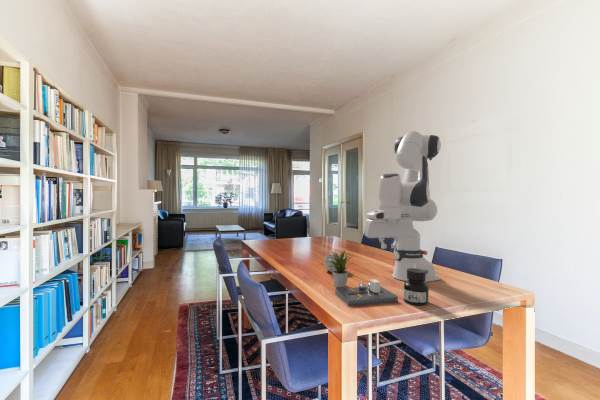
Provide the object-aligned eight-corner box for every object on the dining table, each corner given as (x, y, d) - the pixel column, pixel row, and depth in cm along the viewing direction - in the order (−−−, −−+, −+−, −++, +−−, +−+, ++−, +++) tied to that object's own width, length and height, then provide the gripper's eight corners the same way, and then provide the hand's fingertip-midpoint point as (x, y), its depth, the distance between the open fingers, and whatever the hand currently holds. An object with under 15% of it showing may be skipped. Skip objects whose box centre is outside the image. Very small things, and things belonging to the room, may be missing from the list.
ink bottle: (398, 301, 114) (399, 270, 114) (407, 295, 121) (407, 266, 121) (425, 308, 108) (425, 275, 108) (432, 301, 115) (433, 270, 115)
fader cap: (375, 289, 121) (375, 279, 121) (380, 292, 118) (380, 282, 117) (369, 289, 121) (369, 279, 121) (374, 292, 117) (374, 282, 117)
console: (379, 290, 127) (379, 281, 127) (397, 302, 114) (398, 292, 114) (335, 293, 123) (335, 284, 123) (348, 306, 109) (348, 295, 109)
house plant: (327, 279, 144) (328, 245, 143) (356, 281, 140) (357, 246, 139) (320, 287, 130) (320, 250, 130) (352, 291, 126) (353, 252, 126)
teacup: (330, 267, 166) (331, 253, 166) (348, 270, 160) (348, 255, 160) (317, 272, 155) (317, 257, 155) (335, 276, 149) (336, 260, 148)
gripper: (408, 213, 125) (407, 246, 126) (362, 213, 121) (362, 247, 121) (417, 214, 119) (416, 249, 120) (369, 214, 115) (369, 250, 115)
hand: (388, 248), depth 120 cm, fingers open, 3 cm apart
